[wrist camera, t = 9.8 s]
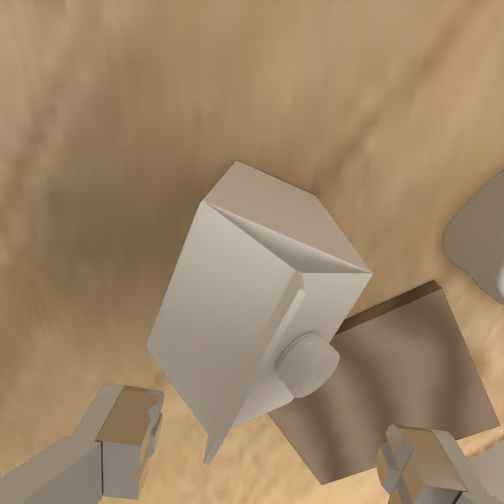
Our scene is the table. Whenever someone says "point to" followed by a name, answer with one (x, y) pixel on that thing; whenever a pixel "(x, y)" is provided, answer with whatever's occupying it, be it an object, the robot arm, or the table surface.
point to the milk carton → (254, 301)
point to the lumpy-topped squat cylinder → (480, 238)
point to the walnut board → (388, 386)
